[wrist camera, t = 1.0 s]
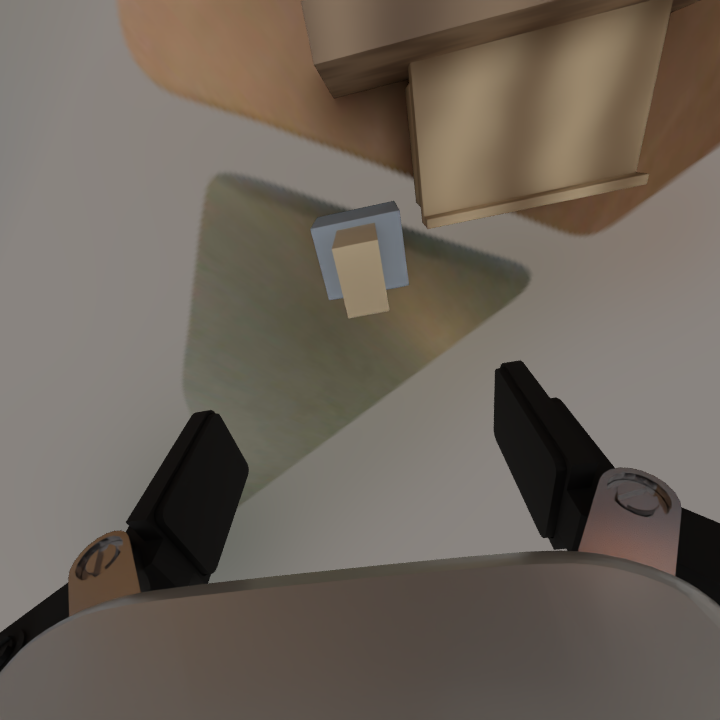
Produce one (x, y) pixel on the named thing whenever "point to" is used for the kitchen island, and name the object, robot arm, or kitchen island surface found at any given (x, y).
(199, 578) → the robot arm
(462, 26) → the wooden toy bench
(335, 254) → the stacked toy blocks
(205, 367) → the kitchen island surface
